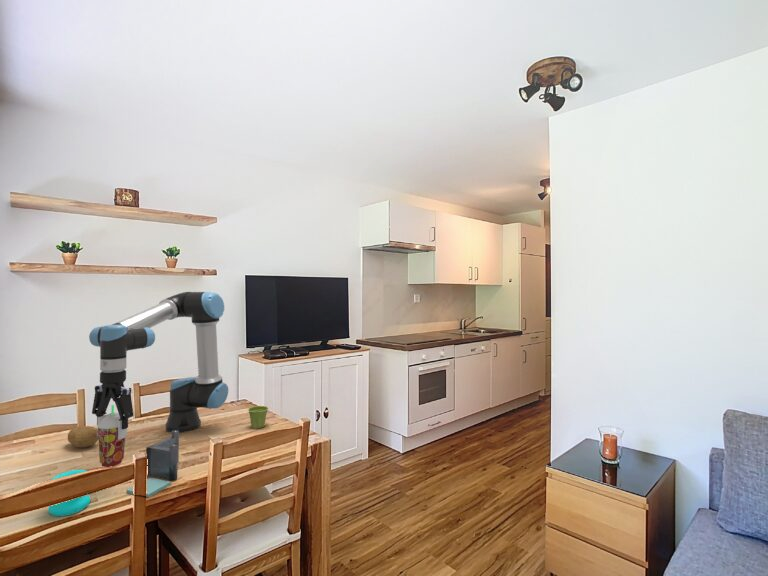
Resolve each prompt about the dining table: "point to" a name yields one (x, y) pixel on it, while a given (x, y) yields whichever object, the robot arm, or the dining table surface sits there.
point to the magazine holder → (164, 457)
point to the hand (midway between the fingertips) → (112, 436)
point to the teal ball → (71, 505)
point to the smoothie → (110, 440)
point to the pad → (153, 486)
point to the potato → (83, 436)
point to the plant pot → (258, 416)
